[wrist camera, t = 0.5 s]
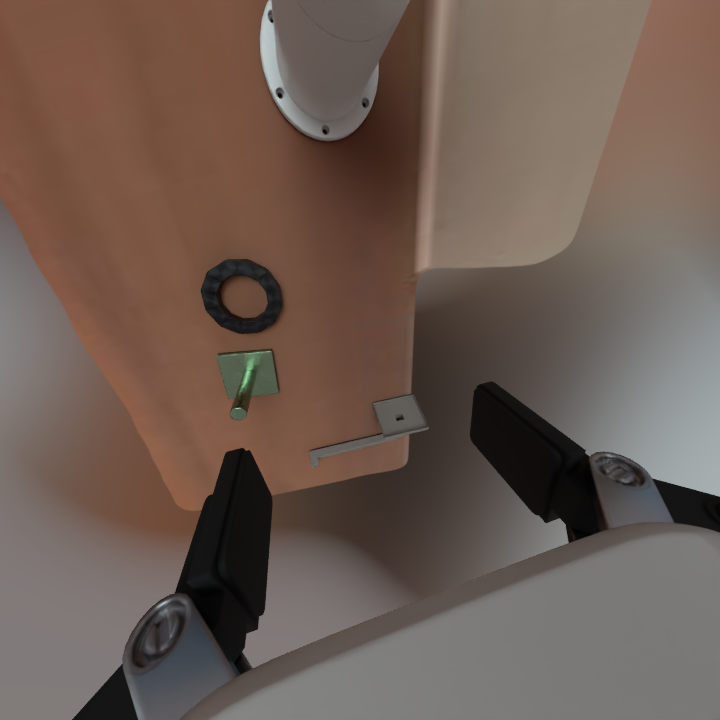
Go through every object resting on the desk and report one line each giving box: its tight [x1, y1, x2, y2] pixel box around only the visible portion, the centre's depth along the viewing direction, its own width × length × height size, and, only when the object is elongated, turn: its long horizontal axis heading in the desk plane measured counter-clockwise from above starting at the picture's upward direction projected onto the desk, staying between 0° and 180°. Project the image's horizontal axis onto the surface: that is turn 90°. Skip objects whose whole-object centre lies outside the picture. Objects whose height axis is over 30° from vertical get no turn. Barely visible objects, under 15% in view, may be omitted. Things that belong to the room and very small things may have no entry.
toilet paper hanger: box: [310, 395, 429, 467], centre depth 51 cm, size 23×9×8 cm, turn 95°
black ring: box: [201, 259, 282, 334], centre depth 36 cm, size 10×10×2 cm
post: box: [217, 349, 279, 420], centre depth 38 cm, size 8×8×11 cm
